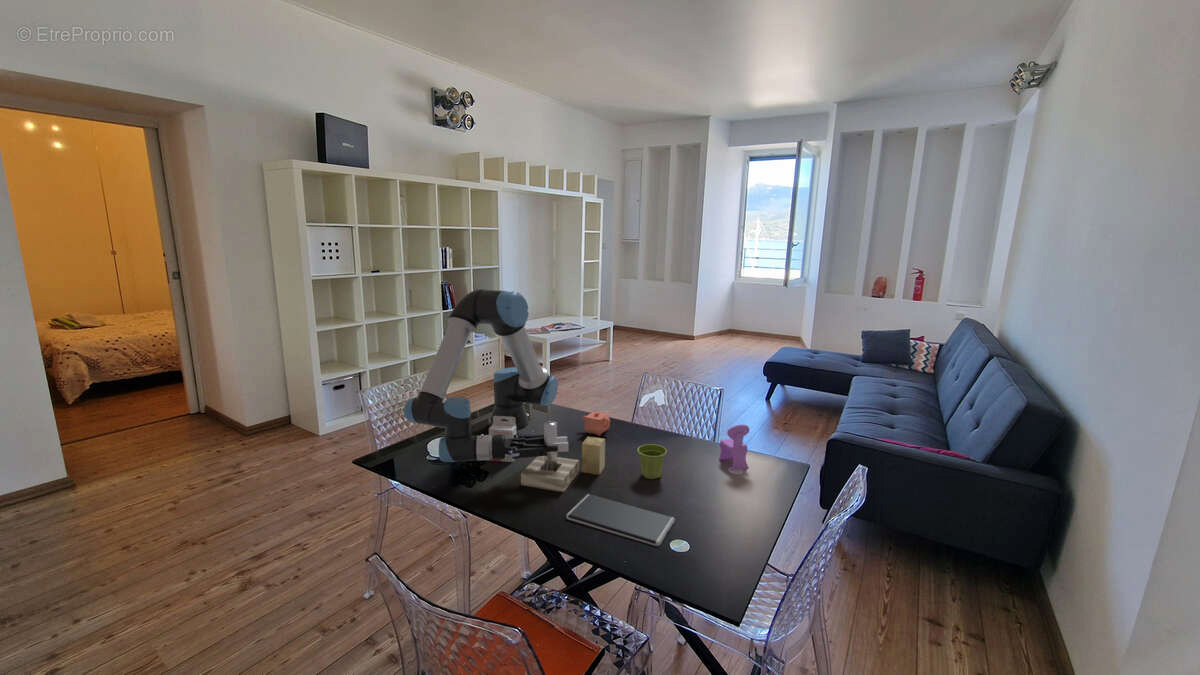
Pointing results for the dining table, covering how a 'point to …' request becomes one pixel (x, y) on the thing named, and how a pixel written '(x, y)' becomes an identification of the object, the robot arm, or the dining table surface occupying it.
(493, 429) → the ink cartridge box
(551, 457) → the cylinder
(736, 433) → the toy chair
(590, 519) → the smartphone
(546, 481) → the socket block
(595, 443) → the square bar
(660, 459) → the plant pot
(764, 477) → the dining table surface
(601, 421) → the pink cube teapot
